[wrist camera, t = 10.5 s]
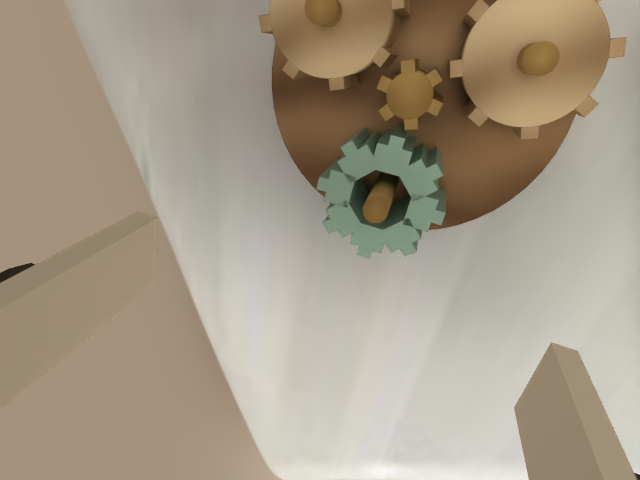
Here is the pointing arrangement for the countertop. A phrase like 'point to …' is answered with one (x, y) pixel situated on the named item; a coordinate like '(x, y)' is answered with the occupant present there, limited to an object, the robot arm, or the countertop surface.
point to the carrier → (437, 87)
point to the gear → (403, 216)
